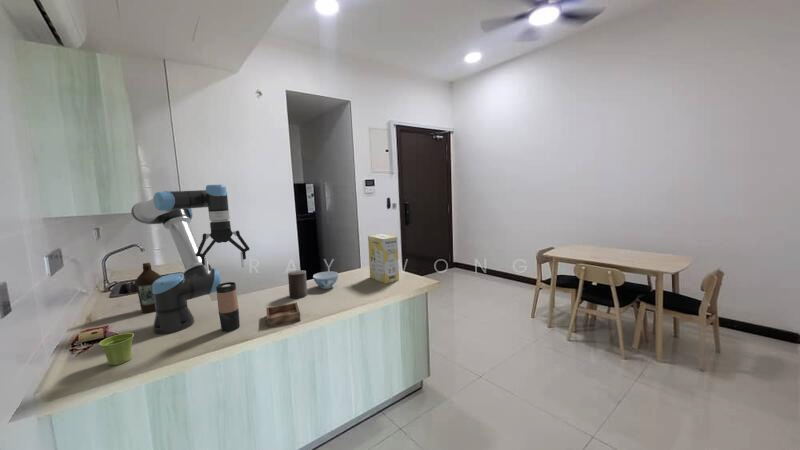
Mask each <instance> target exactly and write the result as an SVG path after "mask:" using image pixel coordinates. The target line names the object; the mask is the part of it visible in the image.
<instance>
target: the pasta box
mask: <svg viewBox="0 0 800 450" xmlns="http://www.w3.org/2000/svg"><path fill="white" fill-rule="evenodd" d="M367 243H368V264H369V266H368V267H369V277H370V279H373V280H375V281H377V282H381V283H382V284H383V283H384V284H385V285H386V284H389V283H393V282H397V281H399V280H400V273H399V268H400V267H399V251H398V250H399V247H398V246H399V244H398V243H399V242H398V236H396V235H388V234H385V233H378V234H372V235H371V234H370V235H367Z"/></svg>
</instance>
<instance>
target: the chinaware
mask: <svg viewBox="0 0 800 450" xmlns="http://www.w3.org/2000/svg"><path fill="white" fill-rule="evenodd" d="M338 277H339V273H338V272H336V271H332V270H331V271H330V270H329V271H321V272H317V273H314V274H313V276H312V278H313V281H314V283H315V284H316V285H317V286H319V287H320V288H321V289H323V290H327V289H330V288H332V287H333V285H334V284H336V283H337V280H338Z"/></svg>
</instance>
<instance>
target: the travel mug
mask: <svg viewBox="0 0 800 450" xmlns="http://www.w3.org/2000/svg"><path fill="white" fill-rule="evenodd" d="M216 290H217V291H216V297H217V298H216V299H217V309H218V315H219V323H220V329H221V332H224V333H230V332H234V331H236V330H238V329H239V328H240V311H239V301H238V294H237V293H238V292H237V284H236V282H234V281H233V282H232V281H228V282H222V283H220V284H219V285H218V286H217V287H216Z"/></svg>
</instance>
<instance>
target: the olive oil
mask: <svg viewBox="0 0 800 450" xmlns="http://www.w3.org/2000/svg"><path fill="white" fill-rule="evenodd" d="M142 270H143V271H142V272H141V273H140V274H139V276H137V278H136V280H135V286H136V290H137V291H136V292H137V296H138V300H139V305H140V310H141V313H143V314H149V313H154V312H155V313H156V309H155V303H154V296H153V293H152V292H153V286H152V285H153V282H154V281H156V280H157V279H159V278H161V277H162V276H161V275H160V274H159V273H158V272H156V271H154V270H153V269H152V265H151V262H143V263H142Z"/></svg>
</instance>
